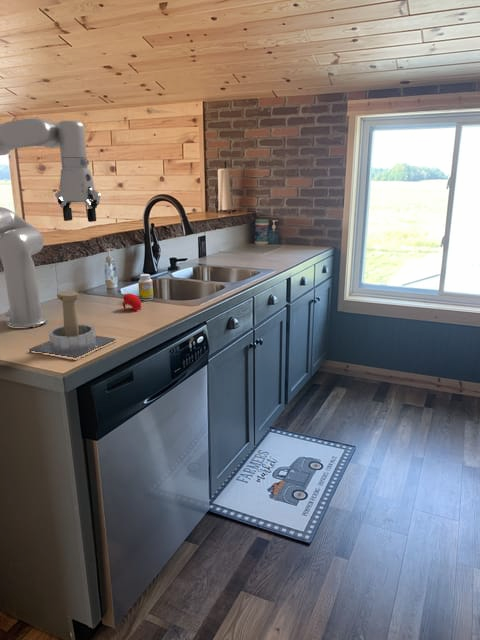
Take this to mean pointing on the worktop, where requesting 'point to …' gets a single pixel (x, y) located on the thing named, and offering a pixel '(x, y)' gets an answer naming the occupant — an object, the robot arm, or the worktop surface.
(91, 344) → the duct collar
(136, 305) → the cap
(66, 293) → the handle
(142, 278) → the supplement bottle
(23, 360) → the worktop surface
